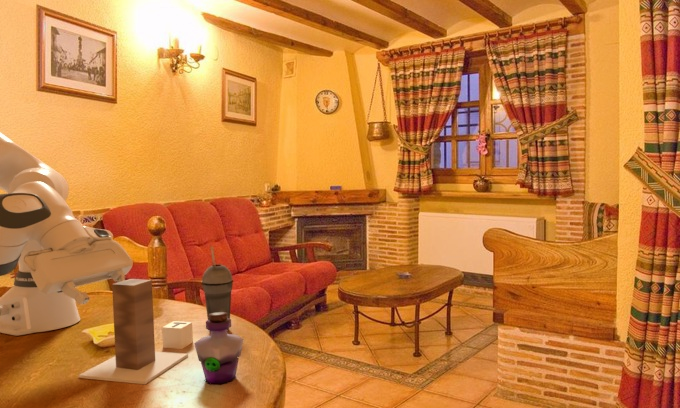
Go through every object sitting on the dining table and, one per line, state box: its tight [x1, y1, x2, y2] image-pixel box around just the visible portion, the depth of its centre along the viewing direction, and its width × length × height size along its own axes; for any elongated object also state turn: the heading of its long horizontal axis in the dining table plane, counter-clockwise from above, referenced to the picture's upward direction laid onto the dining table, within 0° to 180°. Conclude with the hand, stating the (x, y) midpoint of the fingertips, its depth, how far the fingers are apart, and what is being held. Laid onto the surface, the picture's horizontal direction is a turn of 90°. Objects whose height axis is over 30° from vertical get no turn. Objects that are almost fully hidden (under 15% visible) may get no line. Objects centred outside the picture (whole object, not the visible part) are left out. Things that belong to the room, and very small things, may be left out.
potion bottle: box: [194, 312, 244, 386], centre depth 92 cm, size 9×9×12 cm
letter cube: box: [161, 320, 194, 350], centre depth 111 cm, size 4×4×5 cm
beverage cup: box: [201, 245, 234, 331], centre depth 120 cm, size 7×7×20 cm
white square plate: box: [78, 350, 189, 385], centre depth 99 cm, size 14×14×1 cm
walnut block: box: [111, 278, 156, 370], centre depth 98 cm, size 5×5×16 cm
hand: (105, 296), depth 102 cm, fingers open, 8 cm apart
